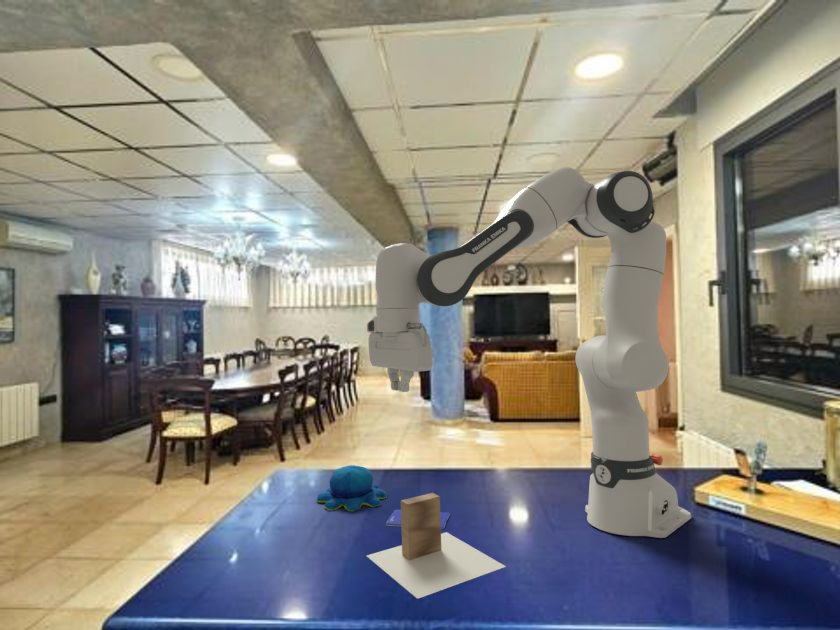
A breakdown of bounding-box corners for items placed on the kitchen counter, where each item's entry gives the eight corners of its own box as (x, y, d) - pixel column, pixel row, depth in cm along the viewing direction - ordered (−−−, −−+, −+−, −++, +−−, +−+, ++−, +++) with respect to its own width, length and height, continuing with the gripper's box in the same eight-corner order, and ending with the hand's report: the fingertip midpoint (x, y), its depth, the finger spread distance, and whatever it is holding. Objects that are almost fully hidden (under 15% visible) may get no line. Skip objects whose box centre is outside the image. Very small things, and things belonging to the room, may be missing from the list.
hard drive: (385, 522, 108) (443, 526, 106) (395, 508, 116) (449, 511, 114) (385, 530, 108) (443, 533, 106) (395, 515, 116) (449, 518, 114)
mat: (446, 534, 104) (446, 532, 104) (506, 568, 89) (506, 566, 89) (366, 557, 95) (366, 555, 95) (417, 601, 79) (417, 598, 79)
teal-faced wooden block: (433, 545, 98) (431, 492, 98) (441, 550, 96) (439, 496, 96) (401, 554, 94) (400, 500, 95) (409, 560, 92) (407, 504, 92)
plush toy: (306, 511, 120) (305, 475, 120) (332, 487, 137) (331, 456, 137) (375, 514, 117) (374, 477, 117) (393, 490, 134) (392, 457, 134)
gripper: (439, 322, 98) (441, 394, 98) (388, 323, 115) (390, 385, 115) (411, 322, 95) (413, 398, 95) (362, 324, 112) (364, 387, 112)
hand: (400, 390), depth 105 cm, fingers closed
